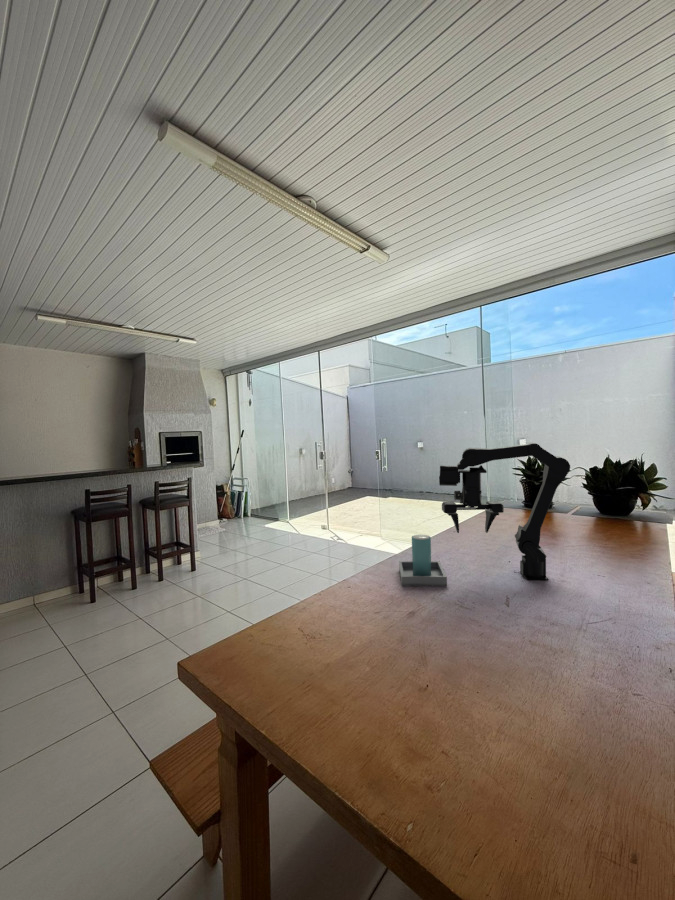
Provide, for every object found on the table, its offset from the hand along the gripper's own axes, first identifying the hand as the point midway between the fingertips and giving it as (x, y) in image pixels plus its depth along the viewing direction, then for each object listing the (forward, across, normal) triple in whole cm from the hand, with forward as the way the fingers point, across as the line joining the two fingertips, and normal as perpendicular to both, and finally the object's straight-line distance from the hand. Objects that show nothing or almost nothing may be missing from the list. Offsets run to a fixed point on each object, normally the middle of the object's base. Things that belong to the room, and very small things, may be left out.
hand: (472, 532), depth 129 cm
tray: (+13, +18, +6) cm, 23 cm away
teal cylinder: (+12, +17, +6) cm, 22 cm away
